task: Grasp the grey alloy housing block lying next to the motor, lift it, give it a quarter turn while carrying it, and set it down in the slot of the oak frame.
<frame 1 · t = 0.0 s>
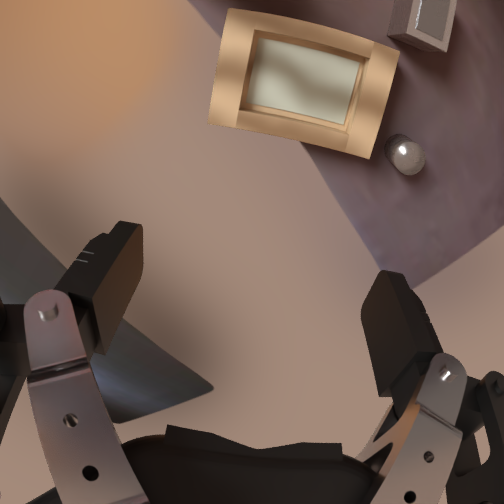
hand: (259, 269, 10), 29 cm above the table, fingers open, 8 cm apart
grey rounded piece: (398, 149, 36), on the table
alloy housing: (412, 12, 25), on the table
oak frame: (301, 79, 32), on the table
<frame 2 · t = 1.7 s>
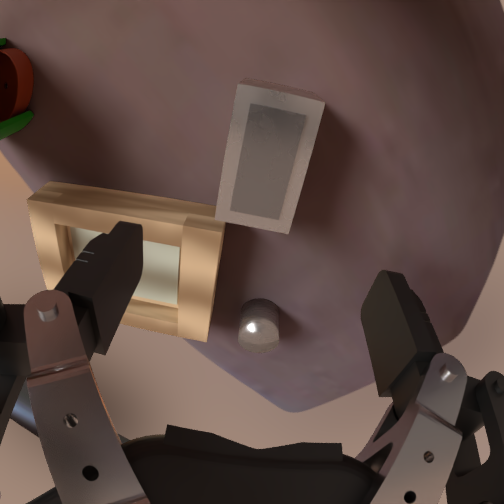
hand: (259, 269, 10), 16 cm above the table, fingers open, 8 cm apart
grey rounded piece: (260, 312, 34), on the table
alloy housing: (266, 139, 24), on the table
motor: (5, 89, 20), on the table
oak frame: (130, 251, 30), on the table
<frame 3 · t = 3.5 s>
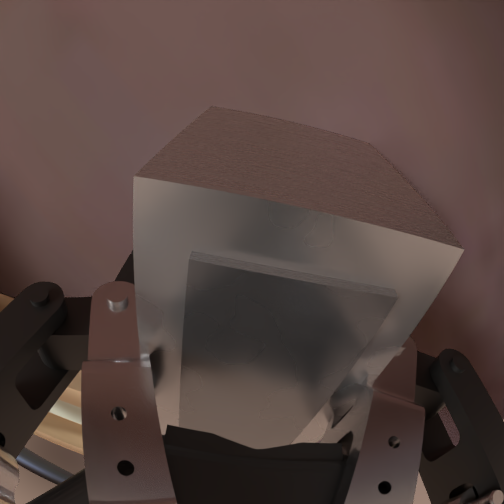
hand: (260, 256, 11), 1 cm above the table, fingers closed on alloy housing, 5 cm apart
alloy housing: (261, 244, 12), on the table, touching gripper
oak frame: (66, 372, 18), on the table
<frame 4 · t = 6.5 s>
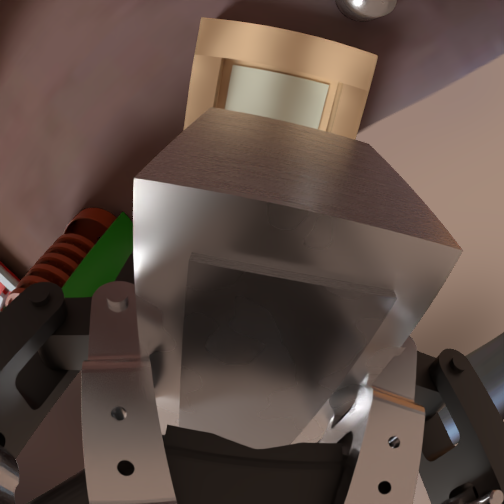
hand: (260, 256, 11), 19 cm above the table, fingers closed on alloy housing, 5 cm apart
grey rounded piece: (358, 1, 19), on the table
alloy housing: (261, 245, 12), point 18 cm above the table, touching gripper
motor: (104, 240, 34), on the table
maze game: (18, 328, 47), on the table
oak frame: (267, 132, 27), on the table
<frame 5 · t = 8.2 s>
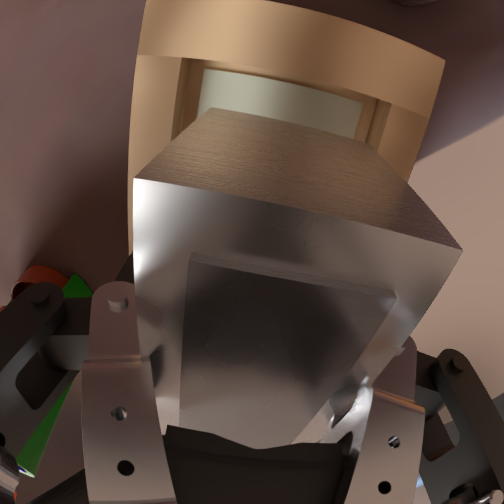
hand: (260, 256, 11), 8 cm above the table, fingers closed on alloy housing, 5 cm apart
alloy housing: (261, 245, 12), point 8 cm above the table, touching gripper
motor: (60, 301, 26), on the table
oak frame: (263, 172, 18), on the table
when the fingers open (4 cm above the table, at t = 9.5 s): alloy housing drops 1 cm, resting on oak frame.
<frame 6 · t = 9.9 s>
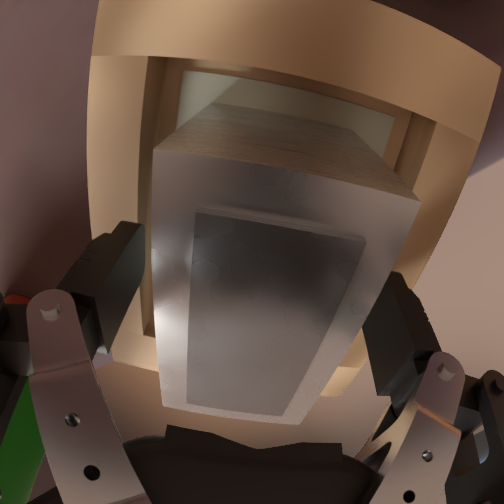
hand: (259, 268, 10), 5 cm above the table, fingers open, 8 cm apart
alloy housing: (260, 224, 13), point 2 cm above the table, touching oak frame
motor: (41, 331, 22), on the table
oak frame: (263, 201, 15), on the table
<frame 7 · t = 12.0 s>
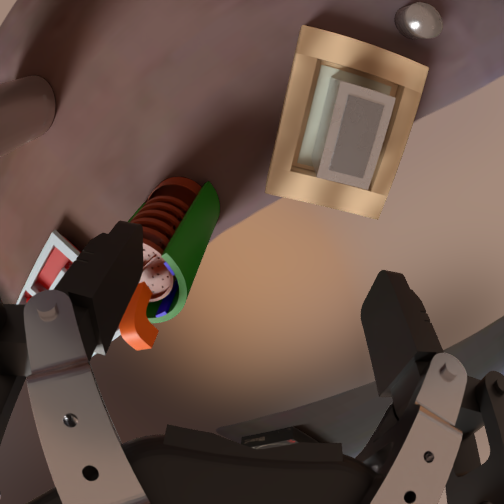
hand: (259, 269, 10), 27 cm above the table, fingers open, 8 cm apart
grey rounded piece: (411, 22, 24), on the table
alloy housing: (344, 123, 30), point 2 cm above the table, touching oak frame
portable cd player: (283, 440, 79), on the table
motor: (184, 207, 40), on the table
maze game: (70, 306, 55), on the table
oak frame: (341, 120, 32), on the table
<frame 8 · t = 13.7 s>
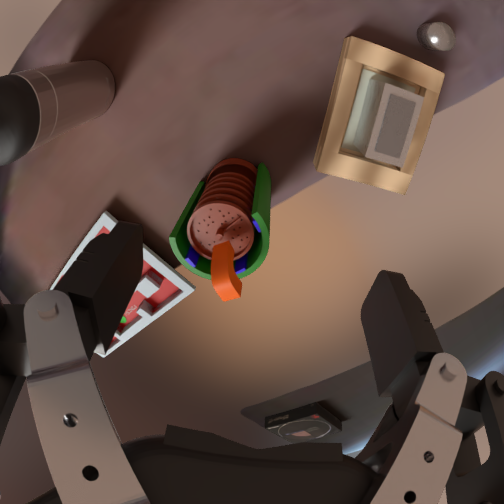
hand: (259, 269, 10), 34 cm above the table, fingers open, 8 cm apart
grey rounded piece: (429, 36, 30), on the table
alloy housing: (379, 116, 36), point 2 cm above the table, touching oak frame
portable cd player: (304, 418, 84), on the table
motor: (237, 186, 45), on the table
maze game: (107, 290, 59), on the table
oak frame: (374, 113, 38), on the table
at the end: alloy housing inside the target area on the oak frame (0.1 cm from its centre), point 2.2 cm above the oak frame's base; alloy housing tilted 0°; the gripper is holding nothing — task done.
